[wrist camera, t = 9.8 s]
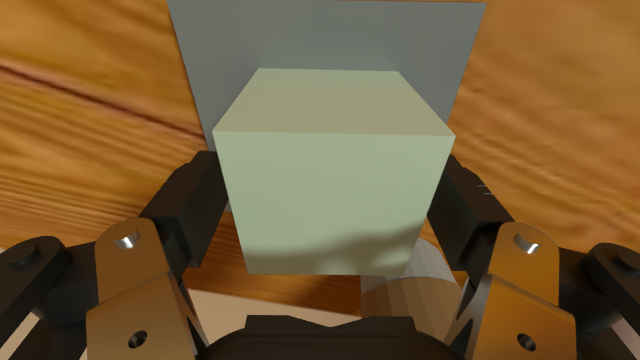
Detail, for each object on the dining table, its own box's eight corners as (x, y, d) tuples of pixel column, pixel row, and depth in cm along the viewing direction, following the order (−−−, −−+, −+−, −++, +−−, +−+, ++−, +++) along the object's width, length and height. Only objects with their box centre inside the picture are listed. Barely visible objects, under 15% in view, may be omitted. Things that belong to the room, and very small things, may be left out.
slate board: (473, 1, 11) (486, 3, 10) (412, 203, 17) (416, 213, 16) (177, -4, 10) (165, -3, 10) (230, 201, 17) (226, 211, 16)
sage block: (397, 71, 11) (456, 136, 6) (376, 181, 15) (403, 275, 10) (258, 67, 11) (212, 130, 6) (271, 179, 15) (247, 273, 10)
